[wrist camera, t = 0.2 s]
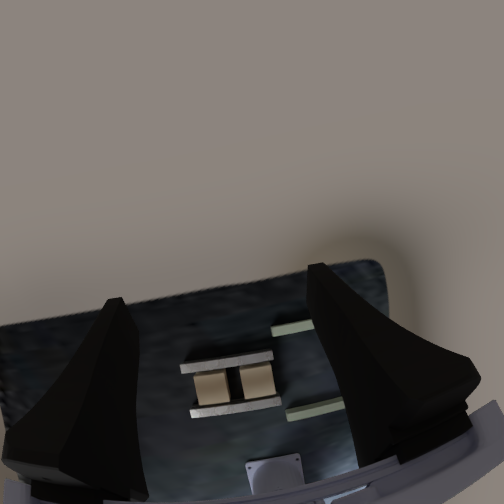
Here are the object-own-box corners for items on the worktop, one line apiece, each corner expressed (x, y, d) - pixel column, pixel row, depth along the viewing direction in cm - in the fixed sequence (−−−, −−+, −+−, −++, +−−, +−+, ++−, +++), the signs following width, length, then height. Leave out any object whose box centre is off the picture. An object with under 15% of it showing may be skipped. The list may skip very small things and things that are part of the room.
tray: (364, 397, 41) (369, 400, 39) (286, 417, 40) (288, 421, 38) (352, 309, 43) (357, 309, 41) (270, 326, 42) (271, 327, 40)
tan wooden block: (273, 388, 41) (275, 393, 38) (245, 393, 41) (245, 399, 38) (269, 361, 42) (270, 365, 39) (239, 366, 41) (239, 370, 38)
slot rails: (279, 399, 40) (281, 404, 38) (194, 412, 40) (191, 418, 37) (270, 348, 42) (272, 350, 39) (183, 361, 41) (179, 364, 39)
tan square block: (230, 395, 41) (229, 401, 38) (202, 399, 40) (199, 405, 37) (225, 368, 41) (224, 373, 38) (196, 372, 41) (193, 376, 38)
